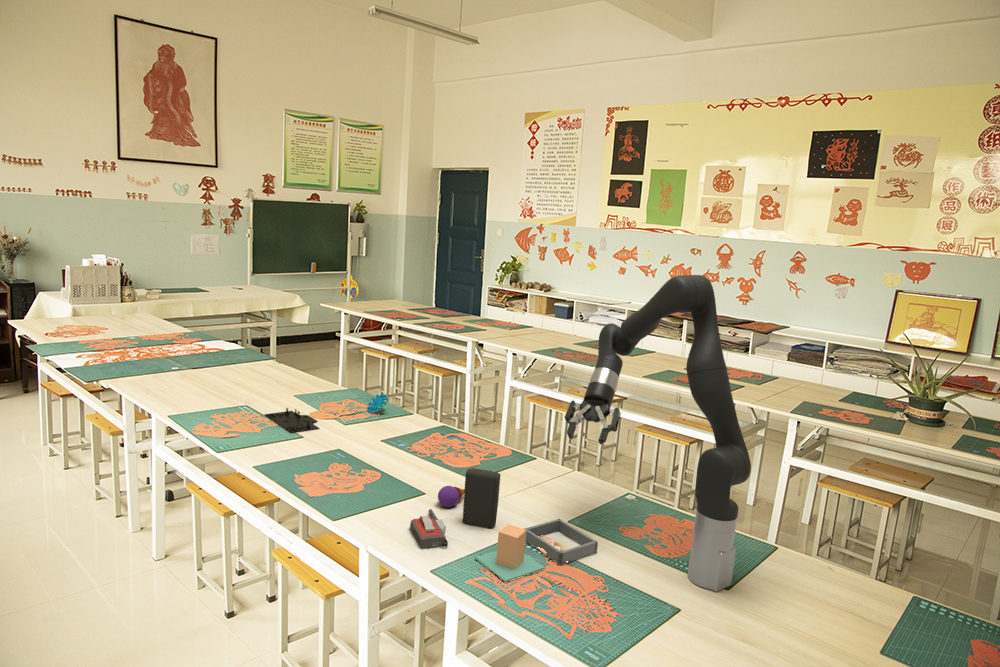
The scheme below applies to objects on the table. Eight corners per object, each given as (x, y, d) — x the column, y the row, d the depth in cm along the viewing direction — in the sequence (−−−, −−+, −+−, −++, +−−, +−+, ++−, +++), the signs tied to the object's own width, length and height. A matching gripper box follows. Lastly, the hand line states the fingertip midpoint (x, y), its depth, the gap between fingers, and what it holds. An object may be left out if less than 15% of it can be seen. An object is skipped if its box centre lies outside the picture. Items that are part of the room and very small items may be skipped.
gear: (362, 405, 269) (380, 388, 272) (370, 413, 273) (388, 397, 275) (372, 416, 261) (390, 399, 263) (381, 424, 264) (398, 407, 266)
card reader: (497, 523, 176) (502, 471, 173) (494, 529, 172) (498, 476, 169) (465, 517, 178) (469, 466, 175) (461, 523, 174) (465, 471, 171)
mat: (544, 569, 154) (545, 567, 154) (505, 583, 146) (505, 580, 146) (513, 547, 163) (513, 545, 163) (475, 559, 156) (475, 557, 156)
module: (523, 560, 156) (526, 529, 155) (514, 569, 151) (517, 538, 150) (505, 554, 158) (508, 524, 157) (495, 563, 154) (498, 531, 152)
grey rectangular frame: (596, 552, 164) (597, 541, 163) (560, 565, 156) (561, 553, 156) (558, 529, 175) (559, 518, 175) (522, 539, 168) (523, 528, 167)
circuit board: (264, 416, 252) (264, 408, 251) (299, 411, 261) (299, 404, 261) (290, 434, 234) (290, 426, 233) (327, 429, 243) (327, 421, 242)
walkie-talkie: (455, 549, 161) (433, 514, 179) (456, 532, 160) (434, 499, 178) (421, 553, 157) (402, 517, 176) (422, 536, 157) (403, 502, 175)
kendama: (494, 480, 196) (451, 494, 179) (489, 498, 197) (446, 513, 180) (480, 471, 199) (436, 484, 183) (474, 488, 200) (431, 502, 184)
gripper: (574, 377, 177) (556, 428, 169) (624, 384, 170) (607, 438, 163) (580, 391, 183) (563, 442, 175) (629, 398, 176) (613, 451, 168)
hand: (585, 440), depth 169 cm, fingers open, 8 cm apart
